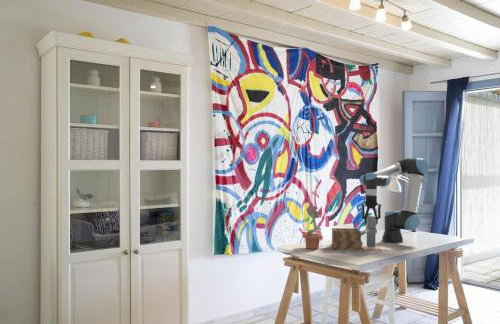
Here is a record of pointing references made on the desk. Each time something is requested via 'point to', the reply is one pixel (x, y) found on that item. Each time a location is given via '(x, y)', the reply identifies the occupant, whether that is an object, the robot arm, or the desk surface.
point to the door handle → (362, 234)
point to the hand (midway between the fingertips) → (371, 228)
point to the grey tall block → (371, 231)
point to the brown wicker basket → (346, 239)
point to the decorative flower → (312, 238)
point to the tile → (371, 248)
